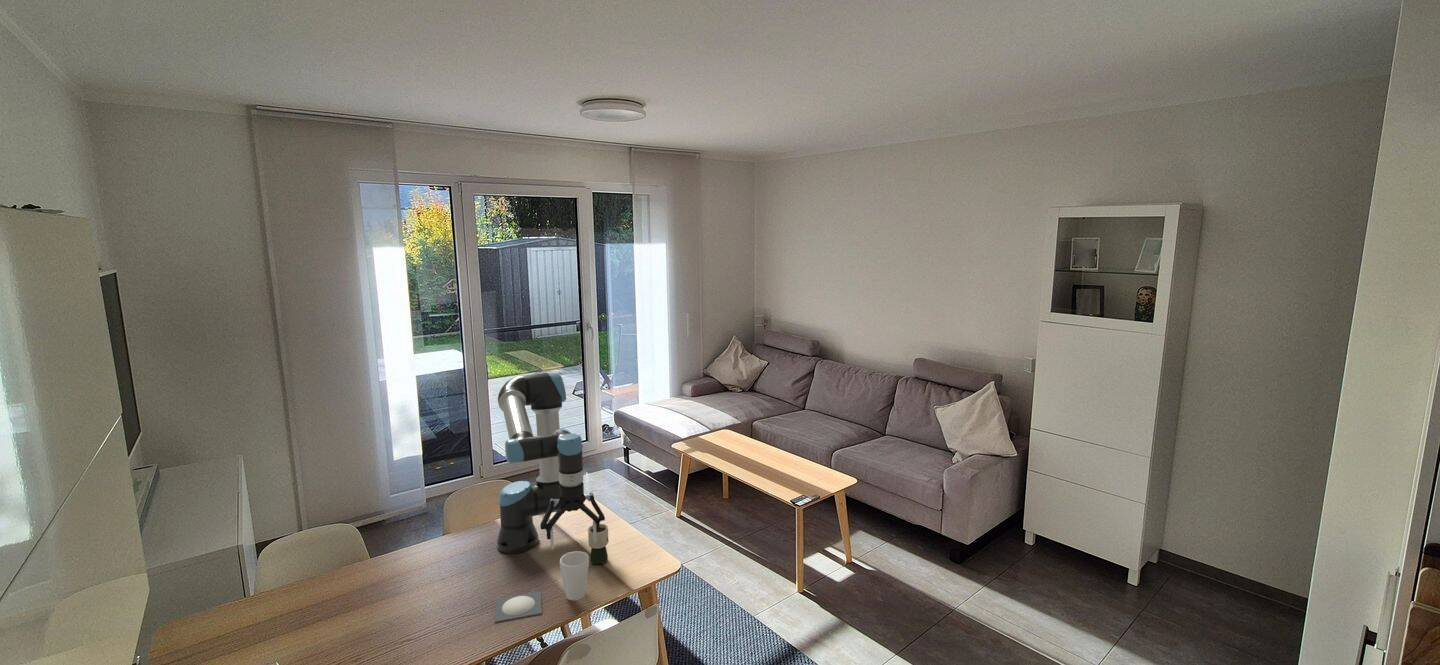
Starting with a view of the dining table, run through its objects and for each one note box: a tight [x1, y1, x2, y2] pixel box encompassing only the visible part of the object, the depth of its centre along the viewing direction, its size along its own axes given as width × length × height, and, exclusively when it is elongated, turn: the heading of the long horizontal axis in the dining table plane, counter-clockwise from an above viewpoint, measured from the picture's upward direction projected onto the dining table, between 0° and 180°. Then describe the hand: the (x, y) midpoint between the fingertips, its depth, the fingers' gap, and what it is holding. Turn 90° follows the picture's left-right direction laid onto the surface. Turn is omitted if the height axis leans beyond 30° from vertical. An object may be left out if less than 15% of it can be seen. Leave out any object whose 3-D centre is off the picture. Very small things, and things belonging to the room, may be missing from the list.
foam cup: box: [559, 550, 590, 601], centre depth 199 cm, size 10×9×13 cm
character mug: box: [587, 523, 609, 565], centre depth 219 cm, size 11×7×13 cm, turn 29°
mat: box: [494, 590, 543, 624], centre depth 194 cm, size 12×14×1 cm
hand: (573, 544), depth 197 cm, fingers open, 13 cm apart
